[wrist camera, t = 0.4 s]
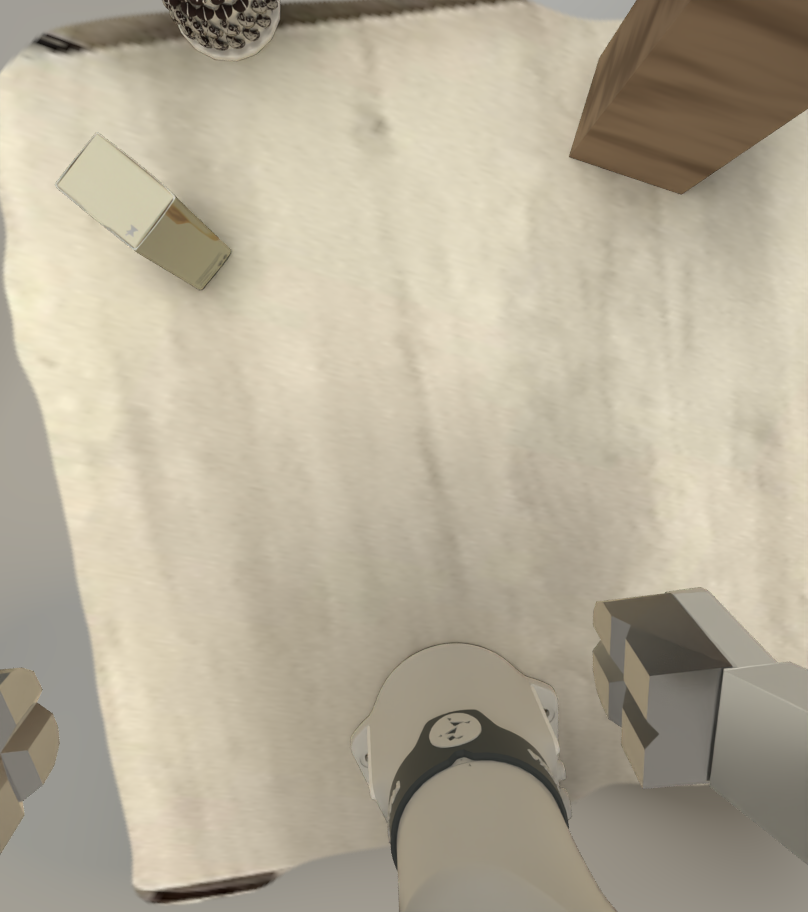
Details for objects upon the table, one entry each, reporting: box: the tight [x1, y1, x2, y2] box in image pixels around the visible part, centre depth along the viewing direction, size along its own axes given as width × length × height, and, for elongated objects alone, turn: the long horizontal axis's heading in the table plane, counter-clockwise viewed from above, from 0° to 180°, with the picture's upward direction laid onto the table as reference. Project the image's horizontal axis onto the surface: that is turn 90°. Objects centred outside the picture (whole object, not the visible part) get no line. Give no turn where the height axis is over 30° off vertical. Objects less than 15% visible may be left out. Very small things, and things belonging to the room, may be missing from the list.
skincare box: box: [55, 132, 231, 290], centre depth 40 cm, size 6×4×12 cm
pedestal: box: [569, 0, 808, 194], centre depth 33 cm, size 8×10×27 cm
